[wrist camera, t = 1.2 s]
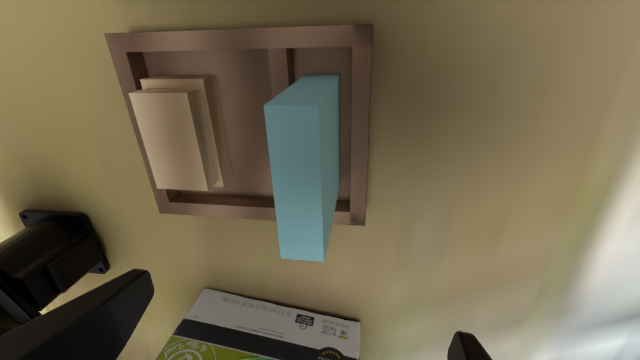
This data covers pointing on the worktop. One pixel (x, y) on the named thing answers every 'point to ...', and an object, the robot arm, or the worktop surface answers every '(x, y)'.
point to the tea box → (258, 332)
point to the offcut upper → (176, 137)
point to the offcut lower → (212, 115)
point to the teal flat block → (305, 163)
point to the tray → (256, 104)
